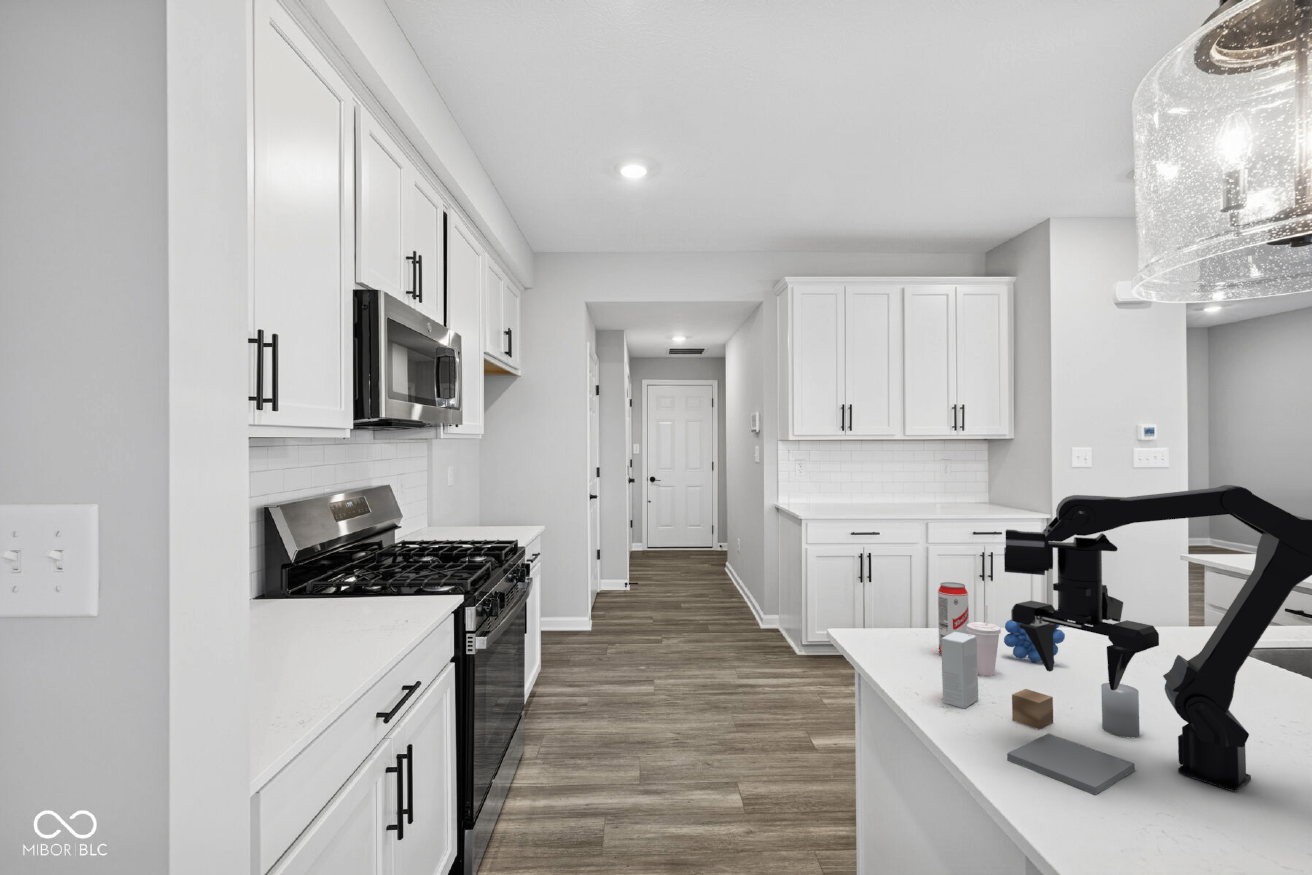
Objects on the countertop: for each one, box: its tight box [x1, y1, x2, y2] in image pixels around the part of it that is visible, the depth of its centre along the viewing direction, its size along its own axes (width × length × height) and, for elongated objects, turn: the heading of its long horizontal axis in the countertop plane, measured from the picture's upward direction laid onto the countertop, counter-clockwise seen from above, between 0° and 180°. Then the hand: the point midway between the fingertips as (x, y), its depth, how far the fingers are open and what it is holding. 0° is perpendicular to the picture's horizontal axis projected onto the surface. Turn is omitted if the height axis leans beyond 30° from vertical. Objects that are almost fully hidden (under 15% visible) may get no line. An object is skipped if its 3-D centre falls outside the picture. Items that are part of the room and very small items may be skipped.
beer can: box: [937, 581, 970, 655], centre depth 146 cm, size 6×6×16 cm
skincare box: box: [941, 632, 979, 709], centre depth 121 cm, size 6×4×12 cm
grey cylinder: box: [1100, 682, 1141, 739], centre depth 107 cm, size 5×5×7 cm
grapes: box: [1003, 619, 1066, 664], centre depth 142 cm, size 12×7×12 cm, turn 51°
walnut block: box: [1011, 688, 1054, 731], centre depth 111 cm, size 4×4×4 cm
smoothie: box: [967, 604, 1002, 677], centre depth 135 cm, size 6×6×14 cm
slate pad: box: [1006, 732, 1136, 796], centre depth 96 cm, size 12×12×1 cm
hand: (1080, 679), depth 100 cm, fingers open, 9 cm apart
